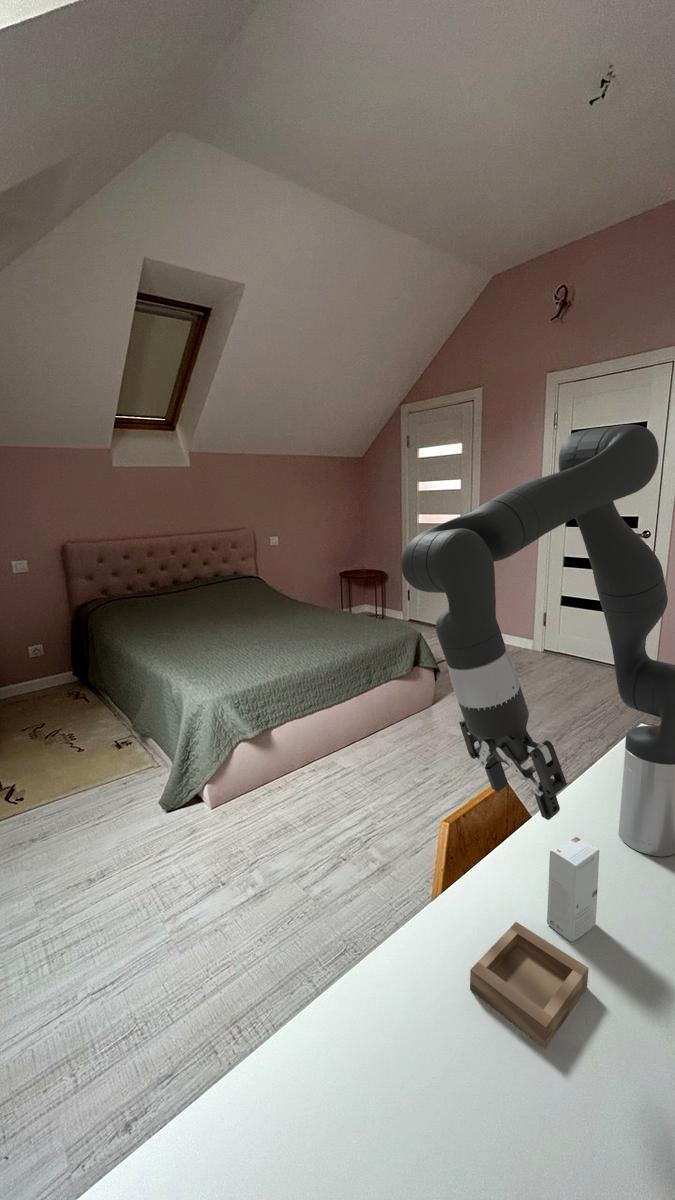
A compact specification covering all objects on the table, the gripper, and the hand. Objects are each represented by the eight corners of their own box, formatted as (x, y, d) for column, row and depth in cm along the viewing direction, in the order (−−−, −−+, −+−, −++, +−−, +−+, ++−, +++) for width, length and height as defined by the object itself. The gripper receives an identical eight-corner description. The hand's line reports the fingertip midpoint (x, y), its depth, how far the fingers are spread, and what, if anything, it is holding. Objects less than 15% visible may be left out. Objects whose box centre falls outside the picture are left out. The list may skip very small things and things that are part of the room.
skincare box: (572, 944, 72) (577, 868, 70) (544, 923, 76) (548, 850, 73) (597, 923, 75) (602, 850, 73) (569, 904, 79) (573, 833, 77)
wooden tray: (515, 939, 73) (516, 921, 72) (587, 987, 66) (588, 967, 65) (470, 989, 66) (470, 969, 65) (544, 1049, 58) (545, 1027, 58)
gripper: (556, 686, 56) (592, 807, 60) (471, 664, 69) (505, 765, 73) (507, 720, 54) (548, 845, 57) (428, 691, 67) (466, 794, 70)
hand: (524, 800), depth 65 cm, fingers open, 8 cm apart
